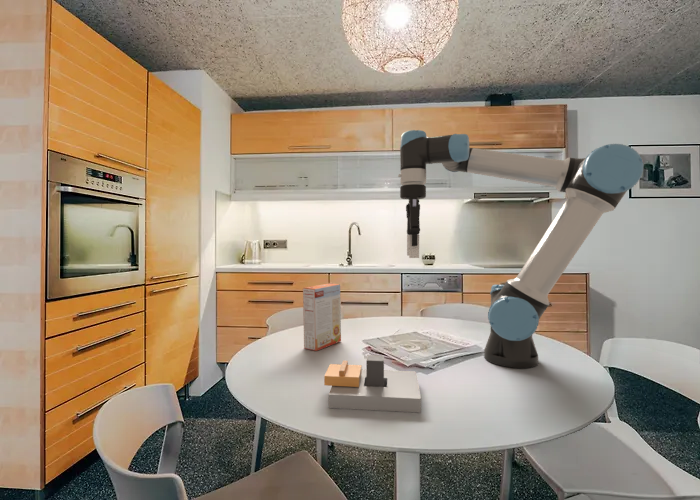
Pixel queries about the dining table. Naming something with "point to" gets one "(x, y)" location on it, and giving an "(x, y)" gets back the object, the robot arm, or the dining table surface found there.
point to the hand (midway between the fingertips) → (412, 256)
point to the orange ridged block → (343, 375)
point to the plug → (375, 370)
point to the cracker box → (321, 316)
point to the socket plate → (380, 394)
